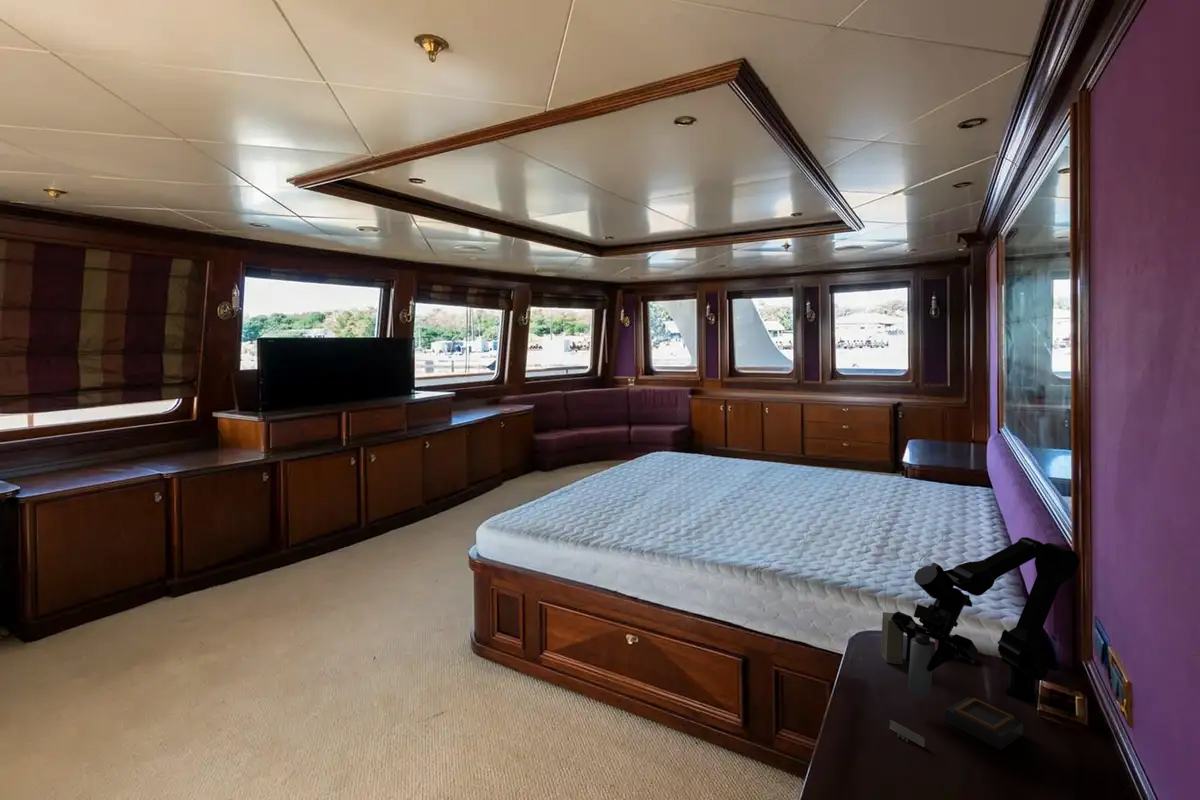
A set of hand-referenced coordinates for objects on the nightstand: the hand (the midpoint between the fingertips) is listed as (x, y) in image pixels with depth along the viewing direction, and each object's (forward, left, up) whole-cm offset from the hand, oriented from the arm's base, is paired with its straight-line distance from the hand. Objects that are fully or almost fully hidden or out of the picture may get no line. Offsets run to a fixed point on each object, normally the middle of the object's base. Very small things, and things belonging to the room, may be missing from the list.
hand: (917, 665), depth 145 cm
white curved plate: (+12, +1, -13) cm, 18 cm away
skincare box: (-25, -13, -13) cm, 31 cm away
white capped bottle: (-1, 0, -7) cm, 7 cm away
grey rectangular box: (-6, +13, -12) cm, 19 cm away
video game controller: (-39, 0, -13) cm, 41 cm away
